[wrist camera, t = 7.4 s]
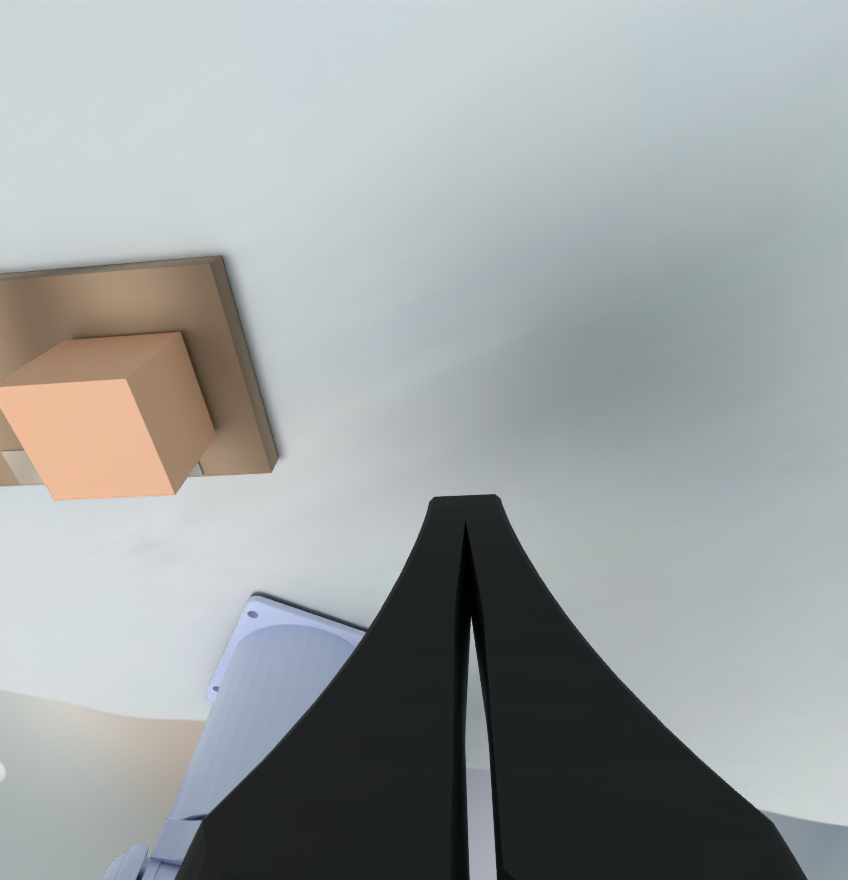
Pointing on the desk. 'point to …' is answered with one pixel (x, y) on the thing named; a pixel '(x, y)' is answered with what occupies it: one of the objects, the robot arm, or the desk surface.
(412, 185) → the desk surface
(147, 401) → the peach colored cube
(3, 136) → the desk surface
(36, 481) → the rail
